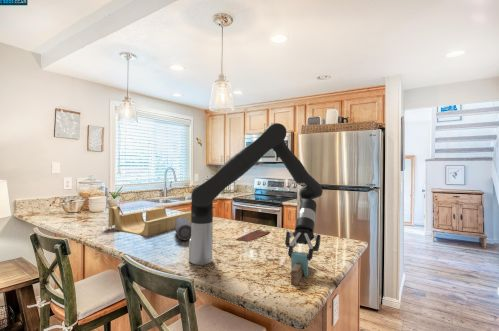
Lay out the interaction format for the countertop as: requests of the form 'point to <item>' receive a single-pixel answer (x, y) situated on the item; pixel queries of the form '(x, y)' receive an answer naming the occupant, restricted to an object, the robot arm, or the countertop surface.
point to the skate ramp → (137, 225)
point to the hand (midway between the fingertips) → (299, 258)
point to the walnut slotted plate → (296, 274)
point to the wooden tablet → (253, 235)
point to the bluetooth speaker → (183, 228)
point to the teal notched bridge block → (300, 261)
